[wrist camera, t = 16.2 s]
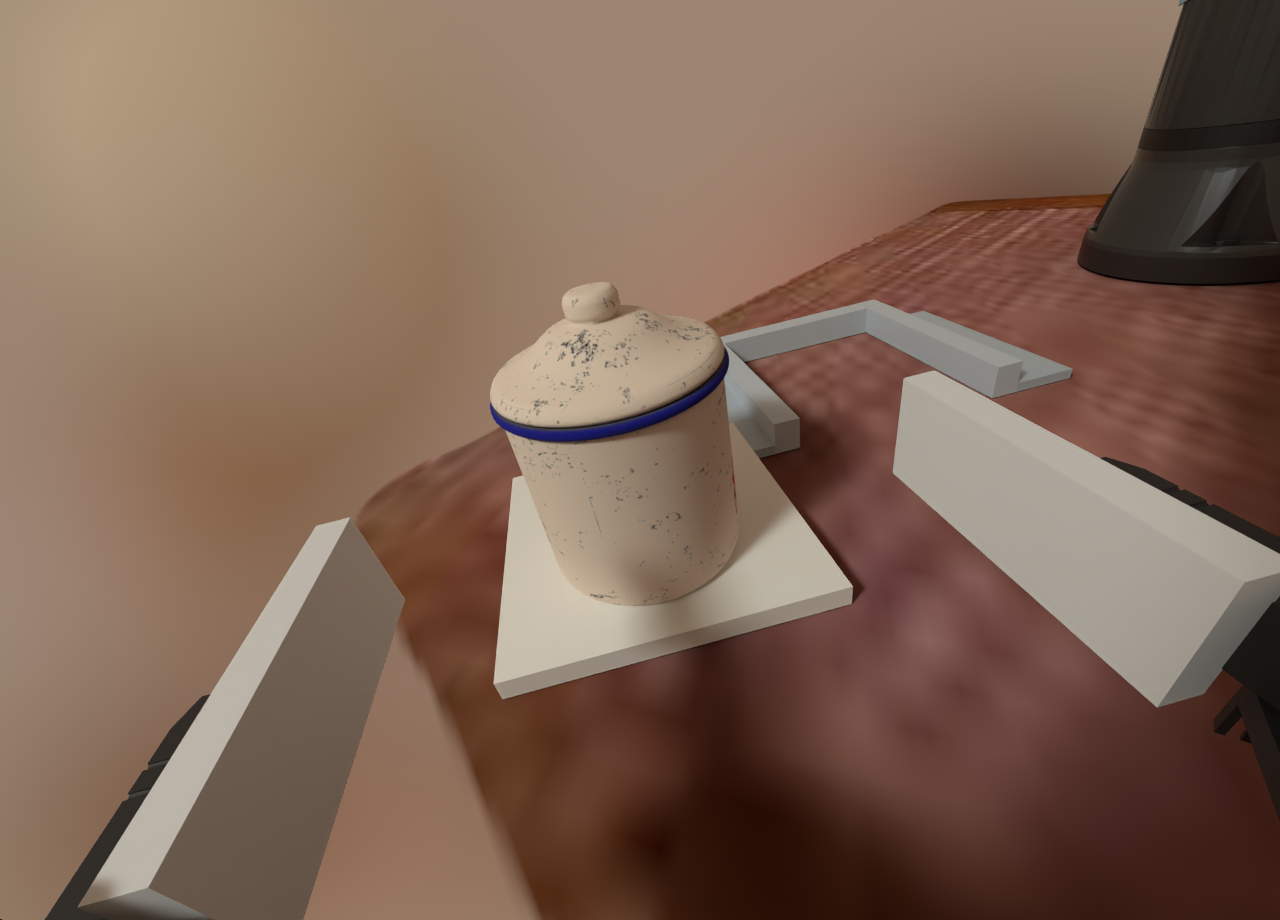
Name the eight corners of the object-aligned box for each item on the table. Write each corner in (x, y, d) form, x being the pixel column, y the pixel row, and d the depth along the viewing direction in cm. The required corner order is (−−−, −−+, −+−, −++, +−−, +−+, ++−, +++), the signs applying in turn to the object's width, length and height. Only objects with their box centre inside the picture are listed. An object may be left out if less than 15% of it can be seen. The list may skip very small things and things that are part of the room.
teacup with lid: (788, 529, 22) (780, 256, 15) (627, 658, 18) (528, 363, 12) (631, 444, 30) (585, 247, 24) (499, 518, 27) (404, 306, 20)
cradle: (911, 313, 42) (913, 289, 41) (1069, 378, 29) (1079, 346, 28) (663, 374, 41) (660, 351, 40) (718, 468, 28) (714, 439, 27)
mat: (733, 435, 31) (732, 422, 30) (851, 603, 19) (852, 586, 19) (518, 490, 30) (512, 477, 30) (502, 699, 19) (493, 684, 18)
